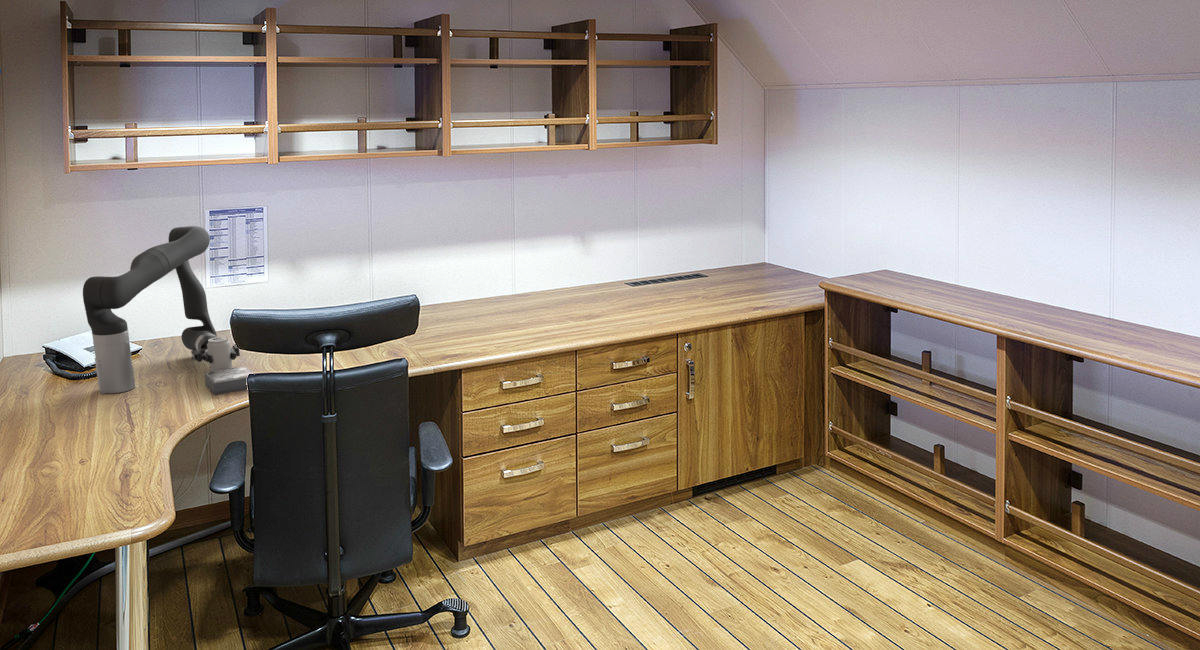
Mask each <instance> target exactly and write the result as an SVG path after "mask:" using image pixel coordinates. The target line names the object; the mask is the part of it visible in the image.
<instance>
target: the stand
mask: <svg viewBox="0 0 1200 650" xmlns="http://www.w3.org/2000/svg"><path fill="white" fill-rule="evenodd" d="M249 374H254V373H253V372H252V371H251V370H250V369H249V368H248V367H247V366H239V367H233V368H231V369H225V370H218V371H212V372H210V371H207V372H205V373H204V381H205V382H204V383H205V386H206V388H207V389H209V391H210V393H212V395H213V396H219V395H224V393H225V394H231V393H237V392H243V391H248V390H247V385H246V378H247V376H248V375H249ZM236 391H237V392H236ZM230 392H231V393H230ZM218 394H219V395H218Z"/></svg>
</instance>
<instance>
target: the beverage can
mask: <svg viewBox="0 0 1200 650" xmlns="http://www.w3.org/2000/svg"><path fill="white" fill-rule="evenodd" d="M230 347H231V342H230V340H229V337H227V336H226V337H225V336H217V337H216V338H211V339H209V340H208V344H207V348H208V355H211V356H212V363H209V362H208V364H209V372H212V371H218V370H225V369H231V368H234V367H233V360H232V358H231V348H230Z"/></svg>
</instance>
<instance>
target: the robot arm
mask: <svg viewBox="0 0 1200 650" xmlns="http://www.w3.org/2000/svg"><path fill="white" fill-rule="evenodd" d="M210 241H211V239H210V235H209V231H207V230H206V229H205V228H204V227H202V226H197V225H190V226H189V225H187V226H178V227H173V228H172V229H171V230H170V232H169V233H168V242H166V243H161V244H159V245H155V246H152V247H150V248H148V249H145V250H144V251H143V252H141V253H139V254H138V255H136V256H135V257H134V258H133V259H132V261H131V263H130V268H129V270H128V271H127V272H125V273H123V274H121V275H118V276H117V275H116V276H101V275H100V276H91V277H89V278H87V279H86V280H84V283H83V286H82V298H83V300H82V301H83V305H84V310H85V315H86V320H87V324H88V326H89V328H90V330H91V335H92V343H93V349H94V356H95V357H94V361H95V362H94V364H95V370H96V377H97V385H98V390H99V392H100V394H102V395H104V394H117V393H118V394H119V393H124V392H128V391H131V390H133V389H135V388H136V381H135V375H134V366H133V359H132V351H131V344H130V343H131V342H130V336H129V328H128V322H127V320H126V319H124V318H122V317H121V316H120V317H119V316H118V315H117V314H115V313H114V312H113V311H112V310H116V309H117V310H118V309H122V308H123V307H125V306H126V305H128V304H129V303H130V302H131V301H132V300H133V299H134V298H136V296H137V295H139V294H140V293H141V292H142V291H143V290H145V289H147V288H149V286H151V285H152V284H154V283H155V282H157V281H159V280H161V279H162V278H163V277H165V276H166V275H168V274H169V273H171V272H173V270H175V271H176V275H177V278H178V280H179V281H178V282H179V285H180V290H181V295H182V301H183V309H184V316H185V318H186V319H188V320H193V321H200V322H201V323H202V325H196V326H189V327H186V328H185V329H183V330H182V333H181V341H182V344H183V346H184V347H185V348H186V349H188V350H190V351H191V352H190V353H191V354H190V355H191V359H192V360H194V361H195V362H198V363H201V362H202V361H204V362H206V363H208V364H209V363H212V356H211V355H208V348H207V344H208V340H209V339H211V338H216V337H218V334H217V332H216V329H215V327H214V325H213V323H212V320H211V317H210V314H209V310H208V301H207V294H206V291H205V288H204V287H203V285H202V282H200V280H199V279H198V277H197V276H196V275H195V273H194V271H193V270H192V268H191V265H190V261H189V260H190V259H191V260H192V259H193V258H195V257H197V256H199V255H200V256H201V255H202V254H204V253H205V252H206V251H207V249H208V248H209V246H210ZM236 344H237V343H234V344H233V345H232V346H230V348H231V358H232V361H234V360H236V359H237V357H240V356H241V354H240V347H239V348H238V347H237V346H236Z"/></svg>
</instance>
